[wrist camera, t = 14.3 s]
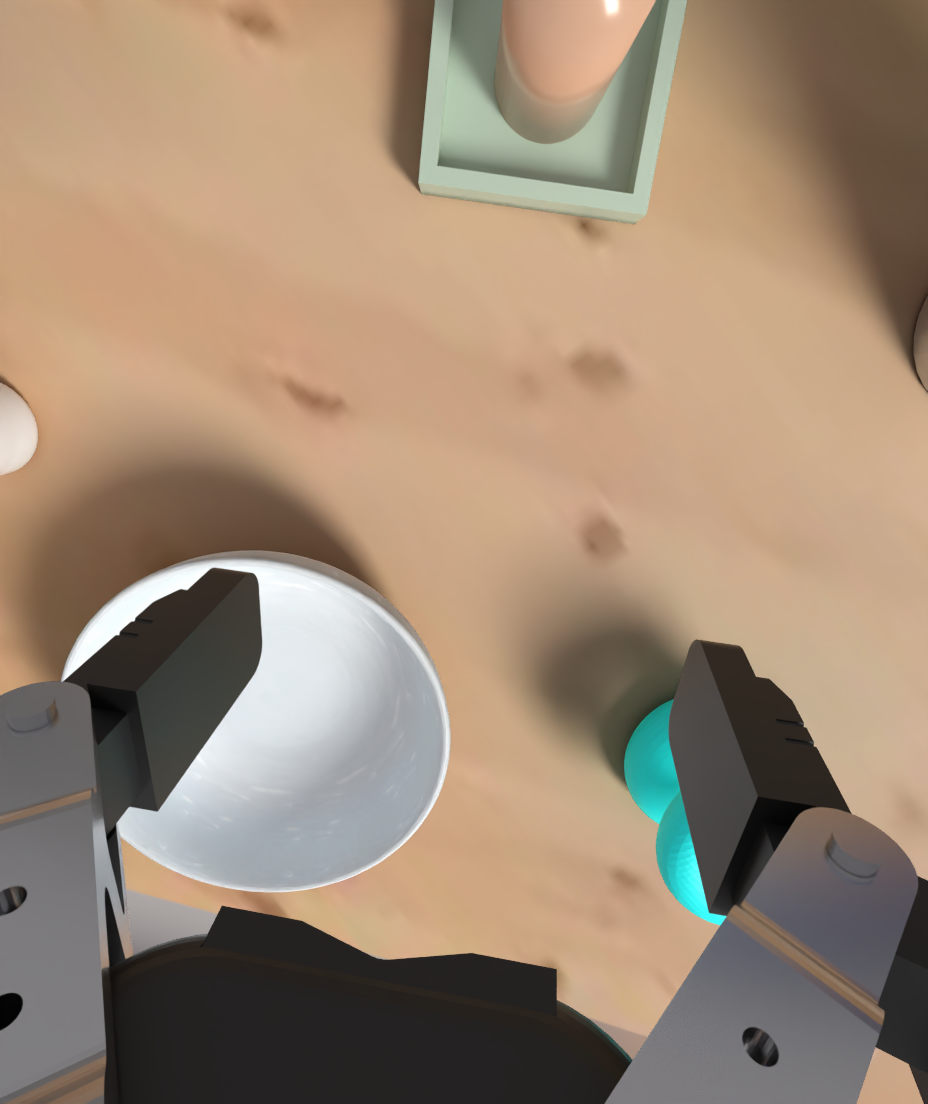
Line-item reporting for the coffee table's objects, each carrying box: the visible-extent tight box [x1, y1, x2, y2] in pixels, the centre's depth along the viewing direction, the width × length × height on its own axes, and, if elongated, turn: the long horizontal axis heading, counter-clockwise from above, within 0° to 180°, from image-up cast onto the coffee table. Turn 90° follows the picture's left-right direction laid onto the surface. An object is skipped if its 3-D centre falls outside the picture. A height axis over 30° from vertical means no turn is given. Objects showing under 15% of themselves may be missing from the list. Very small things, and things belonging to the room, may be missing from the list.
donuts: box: [624, 699, 726, 925], centre depth 37 cm, size 10×10×10 cm
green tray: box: [418, 0, 687, 224], centre depth 29 cm, size 11×11×2 cm
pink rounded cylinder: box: [494, 0, 656, 144], centre depth 25 cm, size 5×5×11 cm
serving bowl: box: [61, 550, 450, 892], centre depth 37 cm, size 21×21×7 cm
